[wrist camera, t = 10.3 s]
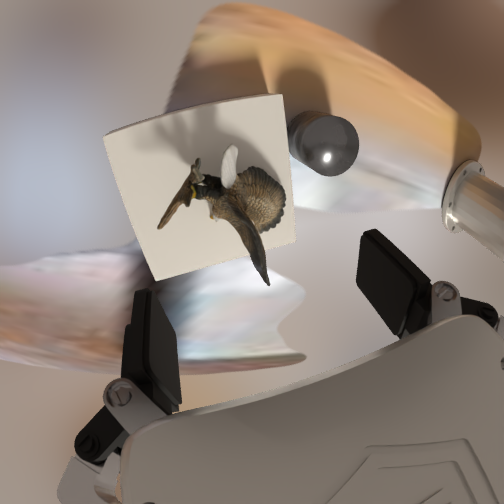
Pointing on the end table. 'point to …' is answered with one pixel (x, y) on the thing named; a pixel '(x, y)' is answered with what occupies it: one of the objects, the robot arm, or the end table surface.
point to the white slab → (179, 167)
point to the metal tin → (323, 142)
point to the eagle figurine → (236, 202)
